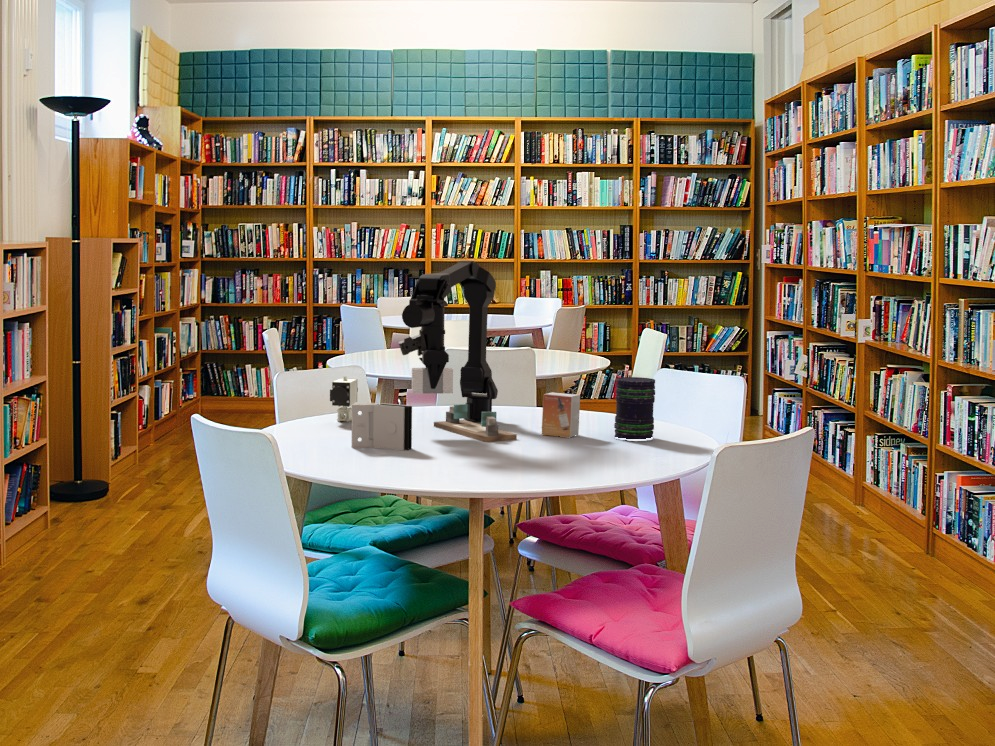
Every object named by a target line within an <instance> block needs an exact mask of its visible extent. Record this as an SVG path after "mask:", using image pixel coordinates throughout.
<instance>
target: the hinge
mask: <svg viewBox="0 0 995 746" xmlns="http://www.w3.org/2000/svg"><path fill="white" fill-rule="evenodd" d="M351 408H352V420H351V448H352V449H355V448H375V449H383V450H384V449H386V450H394V451H395V450H396V451H409V450H412V449H413V448H412V444H413V443H412V440H413V438H412V436H413V434H412V433H413V431H412V429H413V427H412V426H413V406H411V405H410V404H409V405H408V404H407V405H406V404H397V403H386V402H385V403H382V402H381V403H380V404H379V402H368V403H367V404H365V403H364V404H362V403H361V404H360V403H359V404H357V403H356V404H352V405H351ZM359 412H361V414H359ZM359 438H361V440H359Z"/></svg>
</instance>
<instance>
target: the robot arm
mask: <svg viewBox="0 0 995 746" xmlns="http://www.w3.org/2000/svg"><path fill="white" fill-rule="evenodd" d="M458 284H459V286H460V287H461V288H462V290H463V297H464V300H465V301H466V302H467V305H468V306H469V310H468V311H469V317H468V344H467V345H468V349H467V350H468V351H467V356H468V357H467V361H466V363H465V364H464V366H461V368H460V378H459V386H460V393H461V397H462V398H466V403H465V404H468V405H467V418H463V419H462V420H466V421H470V422H473V423H478V422H480V423H481V417H482V412H493V410H492V409H493V400H496V399H497V398H498V393H499V390H498V388H497V386H496V383H495V382H494V380H493V371H492V369H491V367H490V365H489V363H488V361H487V344H488V343H487V339H488V336H487V335H488V334H487V333H488V309H489V306H490V305H491V303H492V301H493V299H494V297H495V291H496V288H497V287H496V286H497V284H496V280H495V278H494V277H493V275H492V274H491V273H490V272H489V271H488V270H486V269H485V268H483V267H482V266H480V265H479V264H478V262H477V261H474V260H459V261H457V262H456V263H455V264H453V265H452V266H450V267H448V268H446V269H444V270H442V271H439V272H437V273H424V274H422V275H420V276H419V278H418V280H417V281H416V284H415V287H414V290H413V291H412V295H411V297H410V299H409V302H408V303H409V304H408V305H406V306H404V309H403V310H402V313H401V318H402V319H401V320H402V321H403V323H404V325H405V326H407V327H408V328H410V329H411V328H412V329H414V328H420V329H419V331H418V332H419V334H417V335H414V336H408V337H404V339H403V340H400V341H398V343H397V344H398V346H399V349H400V352H401V355H402V356H406V355H409V354H410V353H412V352H415V351H417V356H418V357H419V358H418V359H419V361H420V362H421V363H422V364H423V365H424V366H425V367H424V368H428V374H429V380H430V386H431V389H435V388H436V386H437V384H438V381H439V379H440V376H441V374H442V372H443V370H444V368H446V365H447V363H449V362H450V361H449V360H450V358H449V357H450V354H449V353H448V352H446V346H445V335H446V329H445V307H448V306H449V304H448V302H447V301H446V300H445V299H446V298H447V296H448V295H449V294H450V293H451V292H452V287H455V286H456V285H458Z"/></svg>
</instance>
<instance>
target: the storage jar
mask: <svg viewBox="0 0 995 746" xmlns="http://www.w3.org/2000/svg"><path fill="white" fill-rule="evenodd" d="M655 389H656V379H654V378H649V377H640V376H639V377H637V376H636V377H635V376H630V377H629V376H625V377H624V376H622V377H621V376H620V377H617V378H616V385H615V402H616V405H615V406H616V407H615V408H616V409H615V410H616V412H615V413H616V414H615V416H614V425H613V426H614V427H613V428H614V437H618V438H626V439H646V438H651V437H653V438H654V430H655V424H654V423H655V419H654V403H655V400H656V399H655V398H656V396H655V395H656V390H655Z"/></svg>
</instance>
